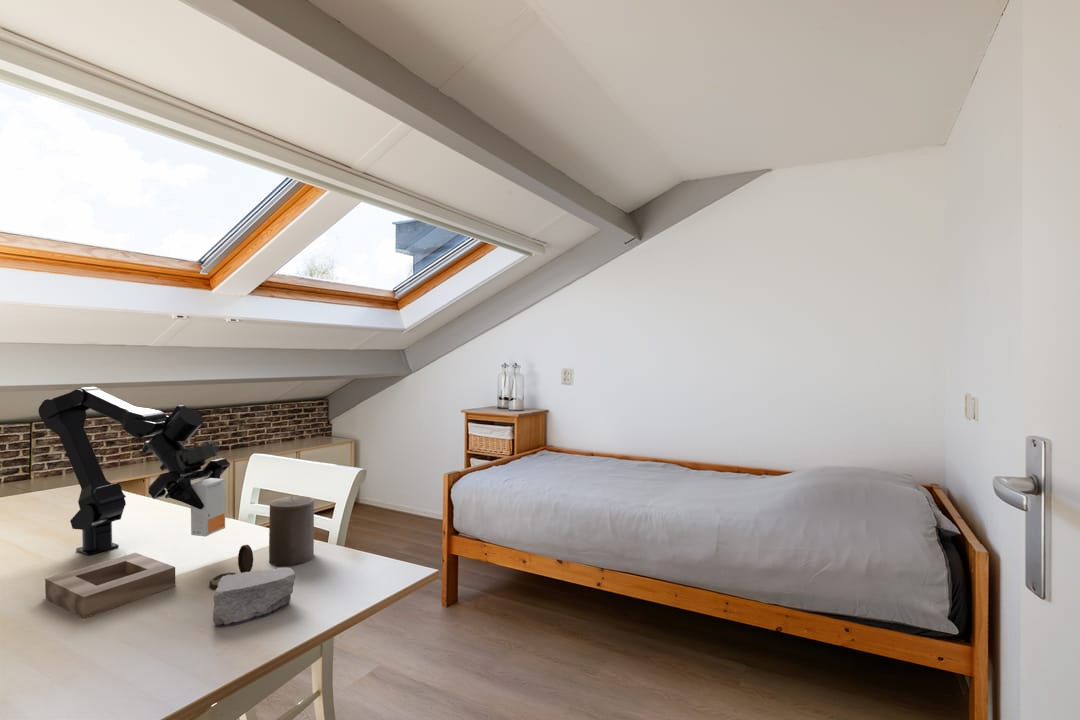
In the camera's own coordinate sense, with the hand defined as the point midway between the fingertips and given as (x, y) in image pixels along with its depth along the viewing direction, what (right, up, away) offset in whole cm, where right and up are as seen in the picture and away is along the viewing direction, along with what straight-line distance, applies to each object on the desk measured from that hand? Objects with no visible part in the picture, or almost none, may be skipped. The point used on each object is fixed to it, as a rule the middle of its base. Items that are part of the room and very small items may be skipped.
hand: (213, 504), depth 131 cm
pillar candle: (+18, -14, +2) cm, 22 cm away
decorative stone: (+21, -15, -24) cm, 35 cm away
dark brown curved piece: (+11, -14, -12) cm, 21 cm away
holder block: (-11, -14, -16) cm, 24 cm away
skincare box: (-1, -7, +1) cm, 7 cm away
